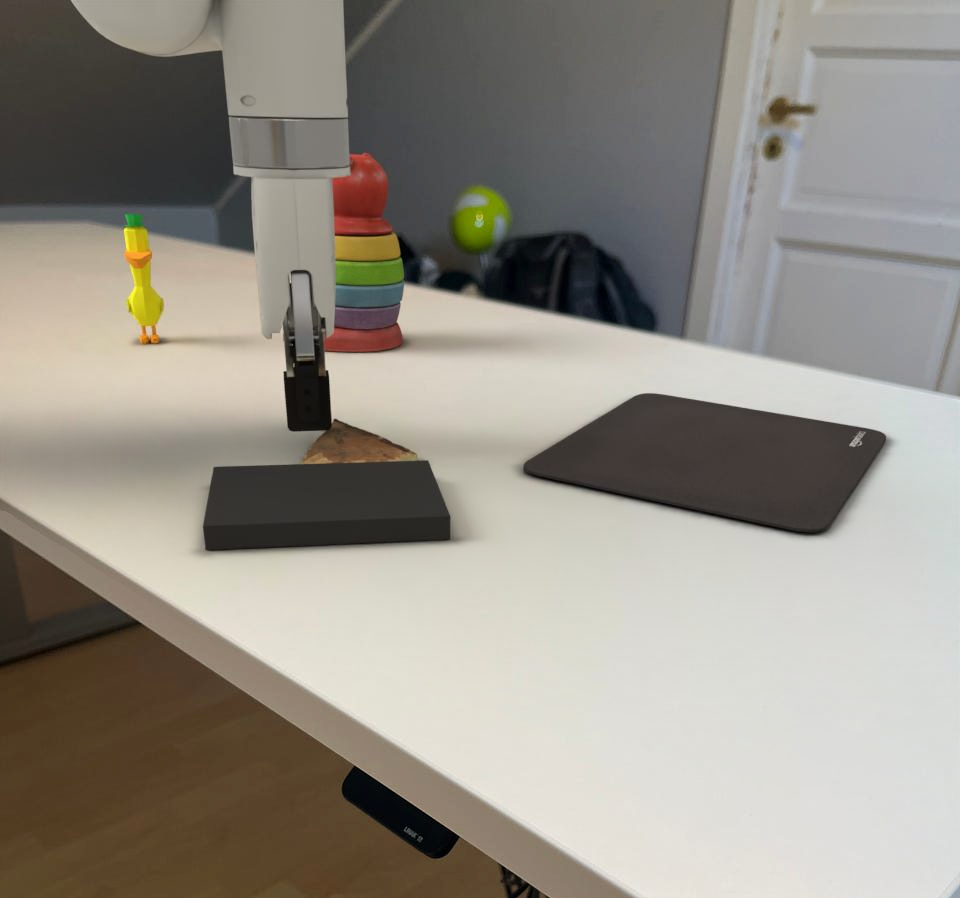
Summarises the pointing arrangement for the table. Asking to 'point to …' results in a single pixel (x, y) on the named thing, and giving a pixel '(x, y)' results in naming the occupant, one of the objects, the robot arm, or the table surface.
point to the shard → (354, 447)
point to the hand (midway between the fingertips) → (309, 427)
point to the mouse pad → (717, 460)
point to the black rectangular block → (324, 505)
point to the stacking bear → (365, 262)
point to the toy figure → (141, 278)
